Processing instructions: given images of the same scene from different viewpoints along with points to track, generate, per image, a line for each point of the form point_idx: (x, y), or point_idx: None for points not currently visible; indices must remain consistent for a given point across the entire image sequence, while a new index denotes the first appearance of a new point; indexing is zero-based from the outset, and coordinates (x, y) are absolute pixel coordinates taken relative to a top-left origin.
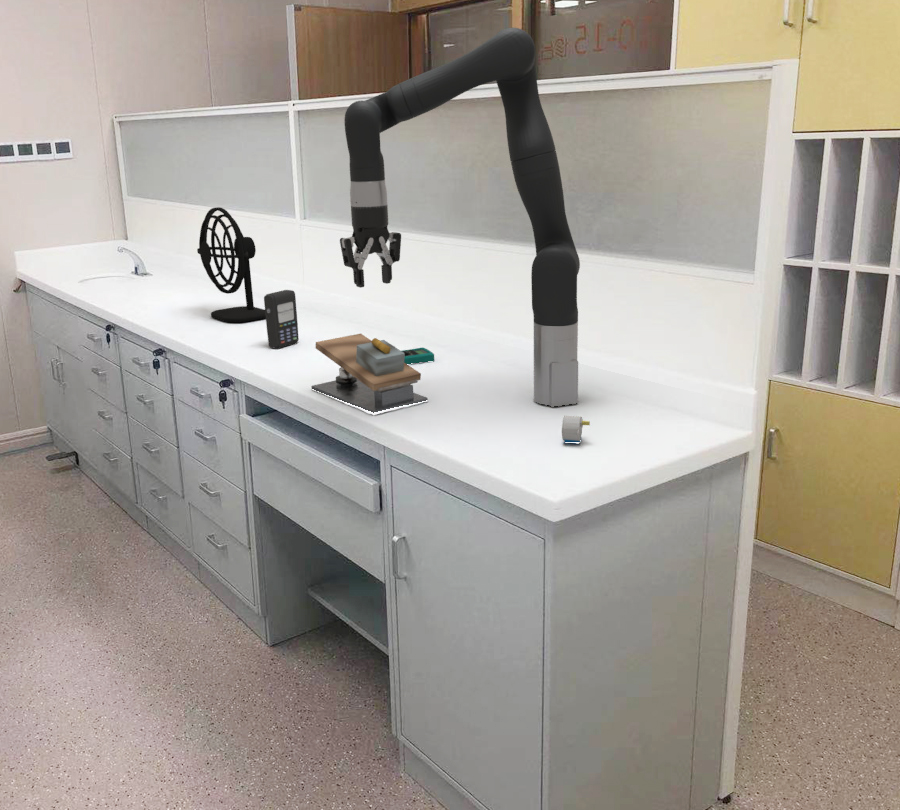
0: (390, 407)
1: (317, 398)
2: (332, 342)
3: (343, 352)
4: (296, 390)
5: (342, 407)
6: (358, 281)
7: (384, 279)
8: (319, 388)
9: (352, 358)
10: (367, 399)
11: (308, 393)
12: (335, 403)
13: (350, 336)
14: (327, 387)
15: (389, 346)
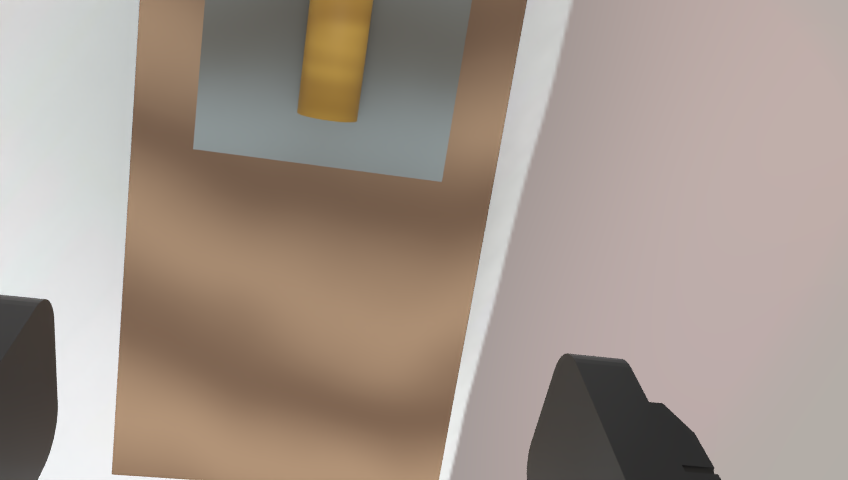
0: None
1: (495, 252)
2: (355, 449)
3: (395, 307)
4: (467, 395)
5: (529, 60)
6: (682, 445)
7: (32, 420)
8: None
9: (408, 210)
10: None
11: (467, 332)
12: (503, 135)
13: (202, 467)
14: None
15: (240, 21)
